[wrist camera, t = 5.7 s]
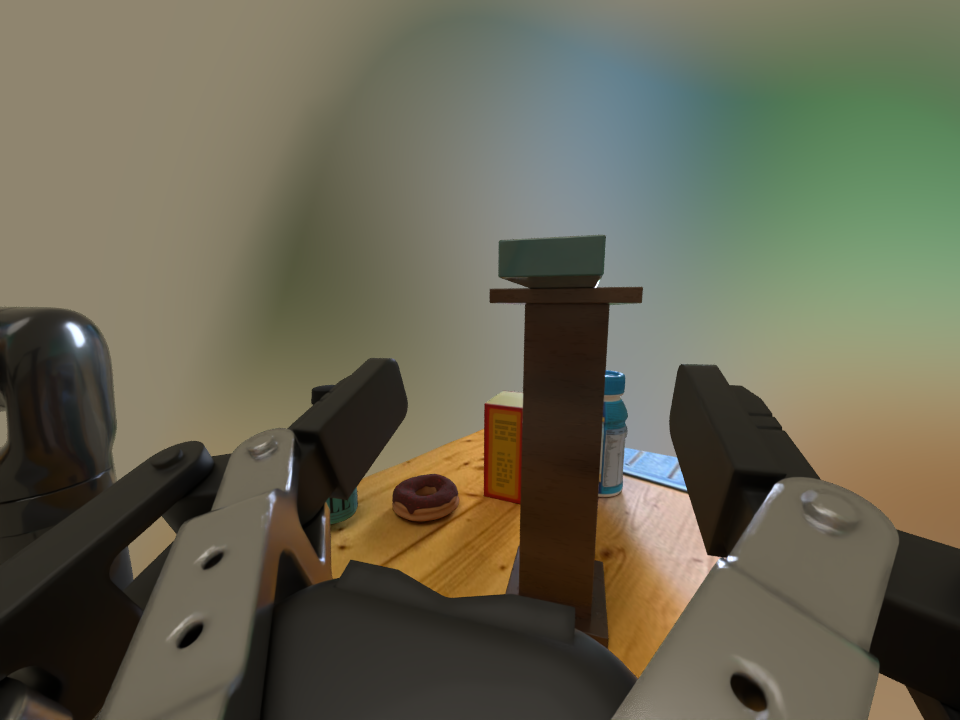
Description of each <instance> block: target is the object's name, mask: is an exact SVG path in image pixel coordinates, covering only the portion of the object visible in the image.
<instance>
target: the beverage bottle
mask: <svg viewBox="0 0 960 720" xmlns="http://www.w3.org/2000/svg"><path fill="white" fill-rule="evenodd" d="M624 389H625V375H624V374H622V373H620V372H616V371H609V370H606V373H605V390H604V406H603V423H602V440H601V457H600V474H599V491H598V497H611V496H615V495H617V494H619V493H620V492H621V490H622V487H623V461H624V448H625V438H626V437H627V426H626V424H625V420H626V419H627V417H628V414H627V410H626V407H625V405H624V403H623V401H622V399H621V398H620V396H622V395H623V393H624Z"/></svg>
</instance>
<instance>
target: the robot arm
mask: <svg viewBox="0 0 960 720" xmlns="http://www.w3.org/2000/svg"><path fill="white" fill-rule="evenodd" d="M407 408H408V402H407V396H406V393H405V389H404V385H403V381H402V377H401V374H400V370H399V366H398V364H397V362H396V361H395V360H394V359H390V358H389V359H388V358H370V359H368V360H367V361H366V362H365V363H364V364H363V365H362V366H360V367H359V368H358V369H357V370H356V371H355V372H354V373H353V374H352V375H350V376H348V377H347V378H345V379H343V380H341V381H340V382H339V383H337V384H336V385H335V386H334V387H333V388H332V389H331V390H330V391H329V393H326V394H325V395H324V396H323V397H322V398H321V399H320V402H319V401H317V402H316V403H315V404H314V405H313V406H312V407H311V408H310V409H309V410H307V411H306V412H305V413H304V414H303V415H302V416H301V417H300V418H298V420H296V421H295V422H294V423H293V424H292V425H291V426H290V427H289V428H287V429H286V428H276V429H271V430H267V431H264V432H261V433H259V434H256V435H254V436H253V437H251V438H249V439H247V440H246V441H244V442H243V443H242V444H240V445H239V446H238V447H237V448H236V449H235V450H234V451H233V453H232V454H225V455H219V456H212V457H211V456H210V454H209V452H208V451H207V449H206V448H205V446H204V445H203V443H201V442H198V441H189V442H184V443H180V444H177V445H174V446H171V447H169V448H167V449H164V450H162V451H160V452H159V453H157V454H155V455H153V456H152V457H150V458H149V459H147V460H146V461H145V462H143V463H142V464H140V465H139V466H138V467H136V468H135V469H133V470H132V471H131V472H129V473H128V474H127V475H125V476H124V477H122V478H121V479H120V480H118V481H117V479H116V473H115V467H114V463H113V462H114V461H113V453H112V449H113V443H114V440H115V436H116V430H117V420H116V410H115V398H114V386H113V372H112V363H111V357H110V352H109V348H108V345H107V343H106V340H105V338H104V336H103V334H102V333H101V331H100V329H99V328H98V327H97V326H96V325H95V324H94V323H93V322H92V321H91V320H90V319H88V318H87V317H86V316H84V315H82V314H80V313H78V312H75V311H72V310H68V309H62V308H51V307H0V412H1V411H6V416H7V441H6V443H5V444H4V446H2V447H0V720H92V719H93V718H94V717H95V715H96V714H97V713H98V712H99V711H100V710H101V708H102V710H101V712H100V714H99V717H98V719H97V720H868V716H869V712H870V708H871V704H872V700H873V696H874V692H875V687H876V684H877V680H878V674H879V673H880V674H883V675H885V676H887V677H889V678H891V679H893V680H895V681H898V682H900V683H902V684H904V685H905V686H906V688H907V689H908V691H909V693H910V695H911V696H912V698H913V700H914V702H915V704H916V705H917V707H918V709H919V711H920V713H921V715H922V716H923V718H924V720H960V549H958V548H955V547H951V546H948V545H945V544H942V543H938V542H935V541H932V540H929V539H925V538H922V537H919V536H915V535H913V534H909V533H906V532H903V531H900V530H897V529H895V527H894V525H893V524H892V522H891V521H890V520H889V518H888V517H887V516H885V514H884V513H883V512H882V511H881V510H879V509H878V508H877V507H876V506H874V505H873V504H872V503H870V502H869V501H867V500H866V499H864V498H863V497H861V496H859V495H857V494H856V493H854V492H852V491H850V490H847V489H845V488H843V487H840V486H838V485H835V484H833V483H829V482H826V481H823V480H821V479H820V478H819V476H818V475H817V474H816V472H815V471H814V470H813V468H812V467H811V466H810V464H809V463H808V462H807V460H806V459H805V457H804V456H803V455H802V453H801V452H800V451H799V449H798V448H797V447H796V445H795V444H794V442H793V441H792V440H791V438H790V437H789V436H788V434H787V433H786V432H785V431H782V426H781V425H780V424H779V422H778V421H777V420H776V418H775V417H772V413H771V411H770V410H769V409H768V407H767V406H766V405H765V404H764V402H763V401H762V399H761V398H759V397H758V396H756V395H754V394H753V393H751V392H750V391H749V390H747V389H746V388H744V387H743V386H735V385H729V384H728V382H727V381H726V379H725V377H724V376H723V374H722V373H721V371H720V370H719V368H718V367H717V366H716V365H697V364H681V365H680V366H679V368H678V371H677V377H676V383H675V388H674V394H673V399H672V406H671V411H670V420H669V422H670V423H669V425H670V434H671V439H672V442H673V445H674V449H675V452H676V455H677V458H678V462H679V465H680V468H681V471H682V474H683V478H684V481H685V484H686V487H687V491H688V494H689V497H690V500H691V503H692V507H693V510H694V513H695V516H696V519H697V523H698V526H699V529H700V532H701V536H702V539H703V542H704V545H705V548H706V552H707V555H711V556H718V557H722V558H720V559H719V560H718V561H717V562H716V564H715V565H714V566H713V568H712V569H711V571H710V572H709V574H708V575H707V577H706V578H705V580H704V581H703V583H702V584H701V586H700V587H699V589H698V590H697V592H696V593H695V595H694V596H693V598H692V599H691V601H690V602H689V604H688V605H687V607H686V608H685V610H684V611H683V613H682V614H681V616H680V617H679V619H678V620H677V622H676V623H675V625H674V626H673V628H672V629H671V631H670V632H669V634H668V635H667V637H666V638H665V640H664V641H663V643H662V644H661V646H660V647H659V649H658V650H657V652H656V653H655V655H654V656H653V658H652V659H651V661H650V662H649V664H648V665H647V667H646V668H645V670H644V671H643V673H642V674H641V676H640V677H639V679H638V678H637V677H636V676H635V675H634V674H633V673H632V672H631V671H630V670H629V669H628V668H627V667H626V666H625V665H624V664H623V662H622V661H621V660H619V659H618V658H617V657H616V656H615V655H614V654H613V653H611V652H610V651H609V650H608V649H607V648H606V647H604V646H603V645H602V644H600V643H599V642H597V641H596V640H594V639H593V638H592V637H590V636H589V635H587V634H585V633H583V632H581V631H579V630H577V629H576V628H575V607H571V606H567V605H562V604H557V603H552V602H548V601H543V600H538V599H534V598H529V597H524V596H519V595H515V594H502V595H488V596H474V597H459V598H448V597H444V596H442V595H440V594H438V593H437V592H435V591H433V590H432V589H430V588H428V587H427V586H425V585H423V584H421V583H420V582H418V581H416V580H415V579H413V578H411V577H410V576H408V575H406V574H404V573H403V572H401V571H399V570H397V569H392V568H387V567H383V566H378V565H373V564H369V563H364V562H359V561H354V560H350V562H349V563H348V565H347V567H346V568H345V570H344V572H343V573H342V575H341V577H340V578H337V579H333V578H332V571H331V534H330V509H329V507H328V505H327V503H326V501H327V500H328V498H329V497H330V498H336V499H343V500H348V499H349V497H350V496H351V494H352V493H353V491H354V490H355V489H356V487H357V486H358V484H359V483H360V481H361V480H362V478H363V477H364V476H365V474H366V473H367V471H368V470H369V468H370V467H371V466H372V464H373V463H374V461H375V460H376V458H377V457H378V456H379V454H380V453H381V451H382V450H383V448H384V447H385V446H386V444H387V443H388V441H389V440H390V438H391V437H392V436H393V434H394V433H395V431H396V430H397V428H398V427H399V425H400V424H401V423H402V421H403V420H404V418H405V416H406V413H407ZM161 516H162V517H163V518H164V519H165V521H166V522H167V523H168V524H169V525H170V527H171V528H172V529H173V530H174V532H175V533H176V534H177V536H176V538H175V540H174V541H173V542H172V543H171V544H170V545H169V546H168V547H167V548H166V549H165V550H164V551H163V552H162V553H161V554H160V555H159V556H158V557H157V558H156V559H155V560H154V561H153V562H152V563H151V564H150V565H149V566H148V567H147V568H146V569H144V570H143V572H141V573H140V574H139V575H138V577H136V578H135V579H134V580H133V573H132V567H131V561H130V555H129V549H128V545H129V544H130V543H131V542H132V541H134V540H135V539H136V538H137V537H138V536H139V535H140V534H142V533H143V532H144V531H145V530H146V529H147V528H148V527H150V526H151V525H152V524H153V523H154V522H155V521H156V520H157V519H158V518H160V517H161ZM723 557H724V558H726V559H724V558H723Z"/></svg>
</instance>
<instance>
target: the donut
mask: <svg viewBox="0 0 960 720" xmlns="http://www.w3.org/2000/svg"><path fill="white" fill-rule="evenodd" d="M458 504H459V497H458V491H457V488H456V486H455V484H454V483H453V482H452V481H451V480H449V479H448V478H446V477H444V476H442V475H438V474H429V475H428V474H427V475H421V476H417V477H413V478H410V479H407V480H405V481H403V482H401V483H400V484H399V485H397V486H396V488H395V489H394V491H393V503H392V505H393V510H394V512H395V513H396V514H398V515H399V516H401V517H403V518H405V519H408V520H411V521H430V520H435V519H439V518H441V517H444V516H446V515H448V514H450V513H451V512H452V511H454V510H455V509H456V508H457V506H458Z"/></svg>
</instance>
